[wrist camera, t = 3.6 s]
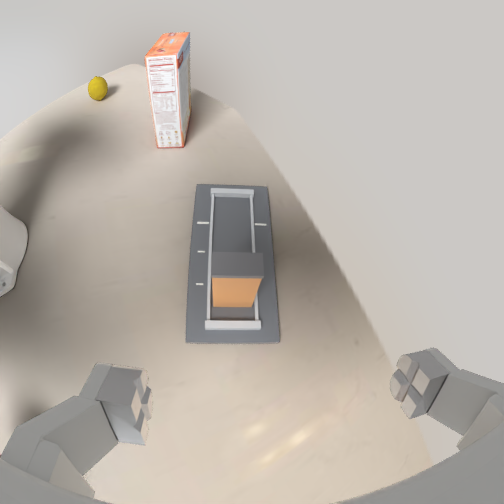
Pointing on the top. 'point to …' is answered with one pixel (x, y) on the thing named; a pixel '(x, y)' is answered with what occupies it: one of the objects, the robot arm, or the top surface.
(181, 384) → the top surface
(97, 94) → the lemon
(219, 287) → the fader cap
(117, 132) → the top surface
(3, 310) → the top surface
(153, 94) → the cracker box
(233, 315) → the grey fader base
